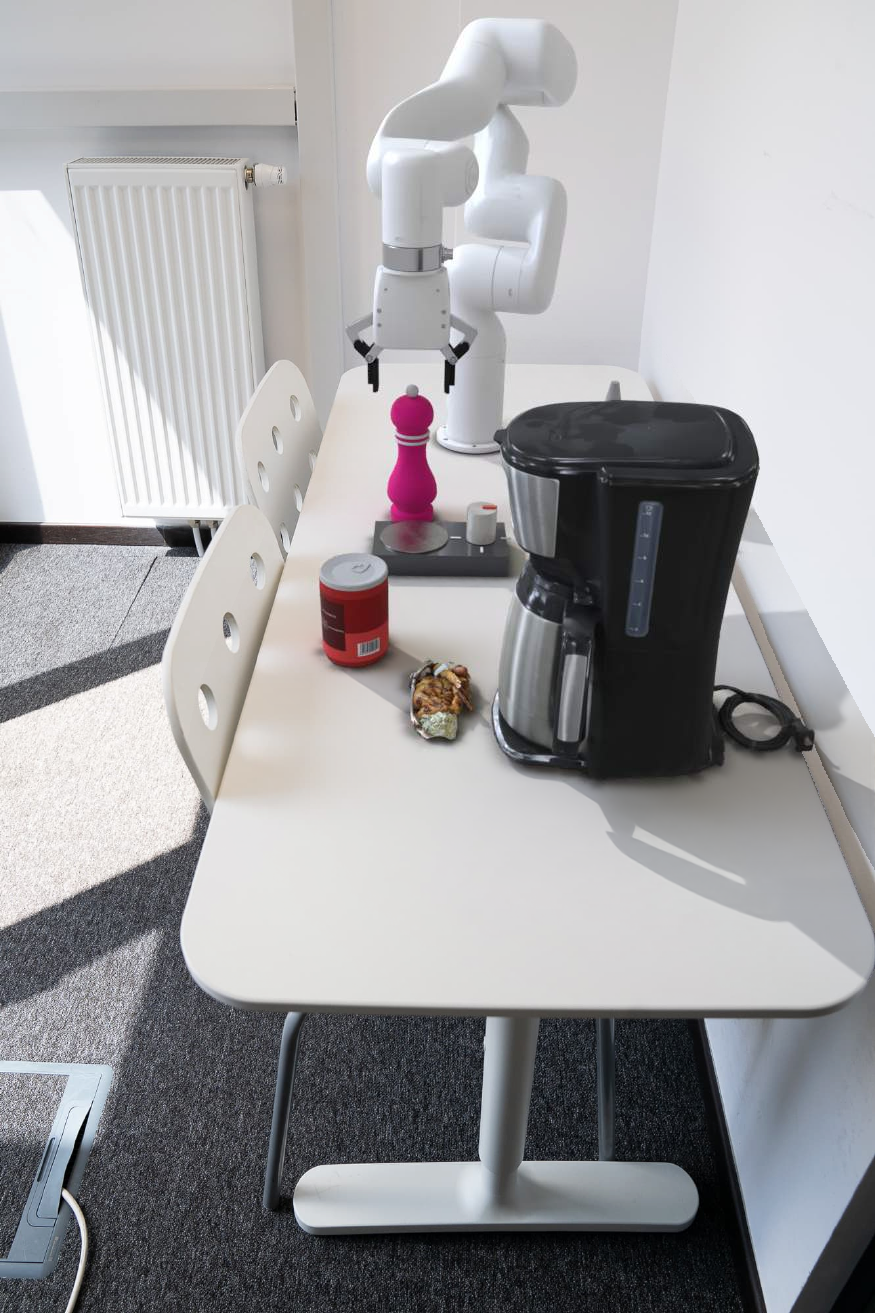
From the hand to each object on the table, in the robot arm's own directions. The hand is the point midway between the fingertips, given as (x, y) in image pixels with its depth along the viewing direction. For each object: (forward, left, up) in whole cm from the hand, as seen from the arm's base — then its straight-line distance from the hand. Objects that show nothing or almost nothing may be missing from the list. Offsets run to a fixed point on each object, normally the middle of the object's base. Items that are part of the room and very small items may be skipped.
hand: (411, 389), depth 139 cm
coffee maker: (+52, +24, -20) cm, 60 cm away
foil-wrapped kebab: (+46, +4, -20) cm, 50 cm away
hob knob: (+12, +10, -16) cm, 22 cm away
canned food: (+35, -6, -20) cm, 40 cm away
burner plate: (+12, +1, -16) cm, 20 cm away
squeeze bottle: (-8, +29, -20) cm, 36 cm away
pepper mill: (0, 0, -20) cm, 20 cm away
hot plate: (+12, +4, -19) cm, 23 cm away
